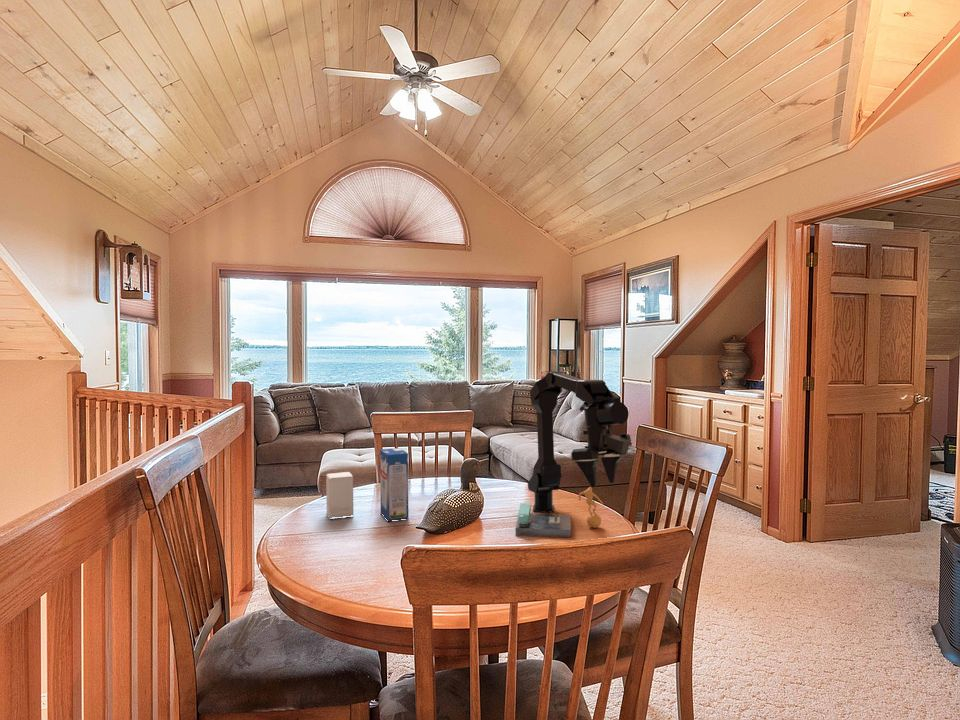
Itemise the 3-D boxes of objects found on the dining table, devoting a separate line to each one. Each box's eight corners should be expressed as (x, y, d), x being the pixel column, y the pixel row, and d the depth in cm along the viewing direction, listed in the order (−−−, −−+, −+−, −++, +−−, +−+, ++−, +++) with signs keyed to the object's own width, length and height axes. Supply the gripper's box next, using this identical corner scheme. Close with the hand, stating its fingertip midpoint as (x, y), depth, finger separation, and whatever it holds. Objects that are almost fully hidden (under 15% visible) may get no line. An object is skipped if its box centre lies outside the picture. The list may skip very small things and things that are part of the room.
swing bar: (520, 509, 161) (520, 503, 161) (530, 510, 161) (530, 503, 161) (517, 524, 148) (517, 516, 148) (528, 524, 147) (528, 517, 147)
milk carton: (380, 513, 169) (379, 449, 168) (400, 510, 171) (399, 447, 171) (388, 522, 159) (387, 454, 159) (408, 519, 162) (408, 453, 161)
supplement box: (354, 517, 165) (353, 476, 164) (328, 520, 162) (328, 478, 162) (350, 510, 171) (350, 471, 171) (326, 513, 169) (325, 473, 168)
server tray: (519, 519, 162) (519, 510, 162) (569, 521, 160) (569, 512, 160) (515, 535, 148) (515, 525, 148) (571, 537, 146) (571, 527, 146)
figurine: (610, 529, 152) (610, 486, 152) (598, 534, 148) (598, 490, 148) (586, 522, 158) (586, 481, 158) (573, 527, 154) (573, 485, 154)
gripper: (604, 425, 134) (611, 489, 132) (640, 422, 148) (647, 480, 145) (567, 428, 142) (573, 489, 140) (604, 425, 155) (610, 480, 153)
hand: (602, 484), depth 144 cm, fingers open, 9 cm apart
